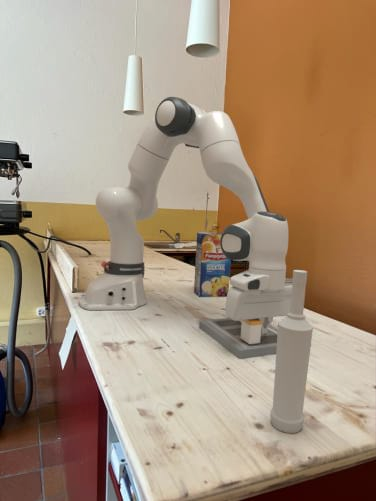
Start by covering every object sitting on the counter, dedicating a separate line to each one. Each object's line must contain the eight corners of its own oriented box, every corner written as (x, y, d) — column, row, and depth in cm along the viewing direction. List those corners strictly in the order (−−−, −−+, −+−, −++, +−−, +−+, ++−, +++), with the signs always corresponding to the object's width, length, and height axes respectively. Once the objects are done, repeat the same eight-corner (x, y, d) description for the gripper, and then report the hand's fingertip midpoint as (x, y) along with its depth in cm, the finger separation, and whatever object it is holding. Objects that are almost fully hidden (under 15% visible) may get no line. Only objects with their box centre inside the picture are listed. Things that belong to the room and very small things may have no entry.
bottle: (265, 414, 60) (278, 267, 57) (295, 414, 61) (309, 268, 58) (275, 434, 55) (290, 273, 52) (308, 434, 55) (324, 275, 52)
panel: (239, 358, 82) (242, 329, 81) (199, 327, 102) (200, 303, 101) (302, 350, 89) (304, 322, 88) (252, 322, 109) (254, 299, 108)
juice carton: (221, 292, 146) (225, 233, 143) (228, 296, 139) (232, 235, 136) (193, 292, 143) (196, 232, 140) (198, 297, 136) (202, 234, 133)
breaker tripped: (249, 344, 85) (251, 322, 84) (240, 338, 89) (241, 317, 88) (260, 343, 86) (262, 321, 85) (250, 337, 90) (252, 316, 89)
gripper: (291, 275, 94) (287, 326, 96) (223, 278, 86) (220, 333, 88) (308, 280, 89) (303, 334, 90) (238, 283, 80) (234, 343, 82)
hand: (262, 334), depth 89 cm, fingers closed
